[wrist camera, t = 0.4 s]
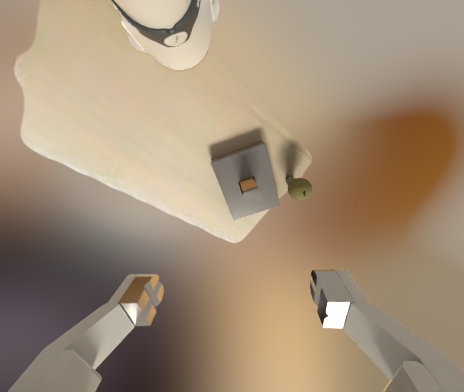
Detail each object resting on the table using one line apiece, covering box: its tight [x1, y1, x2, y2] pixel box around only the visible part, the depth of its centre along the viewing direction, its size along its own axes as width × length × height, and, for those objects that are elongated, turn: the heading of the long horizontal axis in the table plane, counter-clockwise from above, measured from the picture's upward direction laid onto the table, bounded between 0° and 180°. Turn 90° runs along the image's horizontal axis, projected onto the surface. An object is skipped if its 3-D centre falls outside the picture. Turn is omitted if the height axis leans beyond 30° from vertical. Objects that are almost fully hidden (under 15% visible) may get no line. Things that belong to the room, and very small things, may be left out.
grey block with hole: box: [211, 142, 280, 220], centre depth 47 cm, size 18×14×4 cm
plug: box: [239, 177, 262, 205], centre depth 43 cm, size 3×4×10 cm
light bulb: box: [286, 177, 312, 200], centre depth 45 cm, size 6×6×10 cm
